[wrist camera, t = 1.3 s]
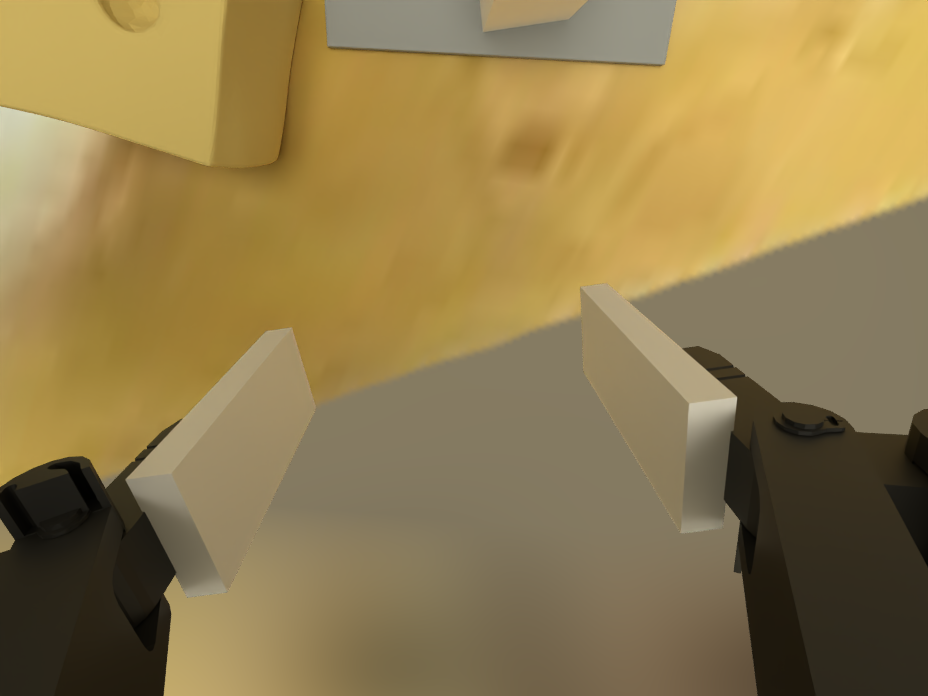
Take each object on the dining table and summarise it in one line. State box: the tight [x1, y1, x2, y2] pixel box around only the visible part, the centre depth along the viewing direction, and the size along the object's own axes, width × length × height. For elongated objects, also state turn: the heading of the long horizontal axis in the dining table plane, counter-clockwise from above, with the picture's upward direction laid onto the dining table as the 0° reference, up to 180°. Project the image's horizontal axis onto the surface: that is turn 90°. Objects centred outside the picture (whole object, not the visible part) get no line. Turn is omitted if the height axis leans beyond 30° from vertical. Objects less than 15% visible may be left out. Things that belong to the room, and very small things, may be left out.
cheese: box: [0, 0, 302, 168], centre depth 23 cm, size 10×11×10 cm
